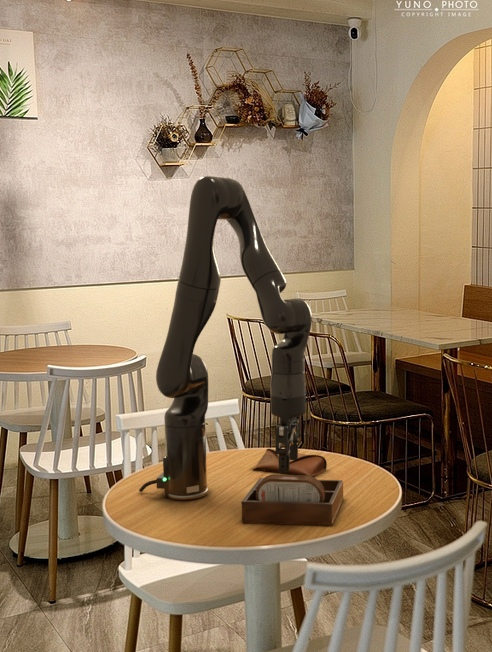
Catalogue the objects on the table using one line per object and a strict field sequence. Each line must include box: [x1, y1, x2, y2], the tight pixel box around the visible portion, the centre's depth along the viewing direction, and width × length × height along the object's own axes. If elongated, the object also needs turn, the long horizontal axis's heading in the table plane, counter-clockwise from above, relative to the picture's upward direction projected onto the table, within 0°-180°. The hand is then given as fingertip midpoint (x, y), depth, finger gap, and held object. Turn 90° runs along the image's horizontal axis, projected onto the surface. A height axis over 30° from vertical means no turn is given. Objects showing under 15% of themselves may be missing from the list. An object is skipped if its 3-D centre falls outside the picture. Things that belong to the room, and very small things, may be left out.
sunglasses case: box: [252, 448, 328, 477], centre depth 225 cm, size 18×7×7 cm
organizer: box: [240, 477, 344, 527], centre depth 194 cm, size 20×16×5 cm
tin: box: [256, 473, 325, 503], centre depth 190 cm, size 15×3×8 cm, turn 84°
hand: (288, 465), depth 189 cm, fingers open, 8 cm apart
